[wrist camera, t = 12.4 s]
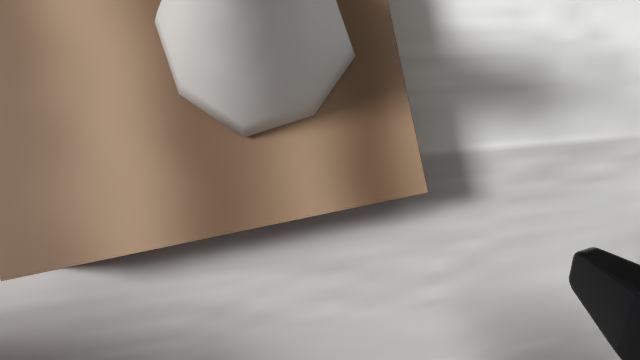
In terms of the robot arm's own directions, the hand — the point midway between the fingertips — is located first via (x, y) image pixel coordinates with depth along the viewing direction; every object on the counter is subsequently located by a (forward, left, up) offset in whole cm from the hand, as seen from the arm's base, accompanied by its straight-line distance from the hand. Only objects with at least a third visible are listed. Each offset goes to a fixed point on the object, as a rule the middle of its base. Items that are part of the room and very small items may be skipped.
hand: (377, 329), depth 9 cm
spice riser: (+7, -6, -11) cm, 15 cm away
